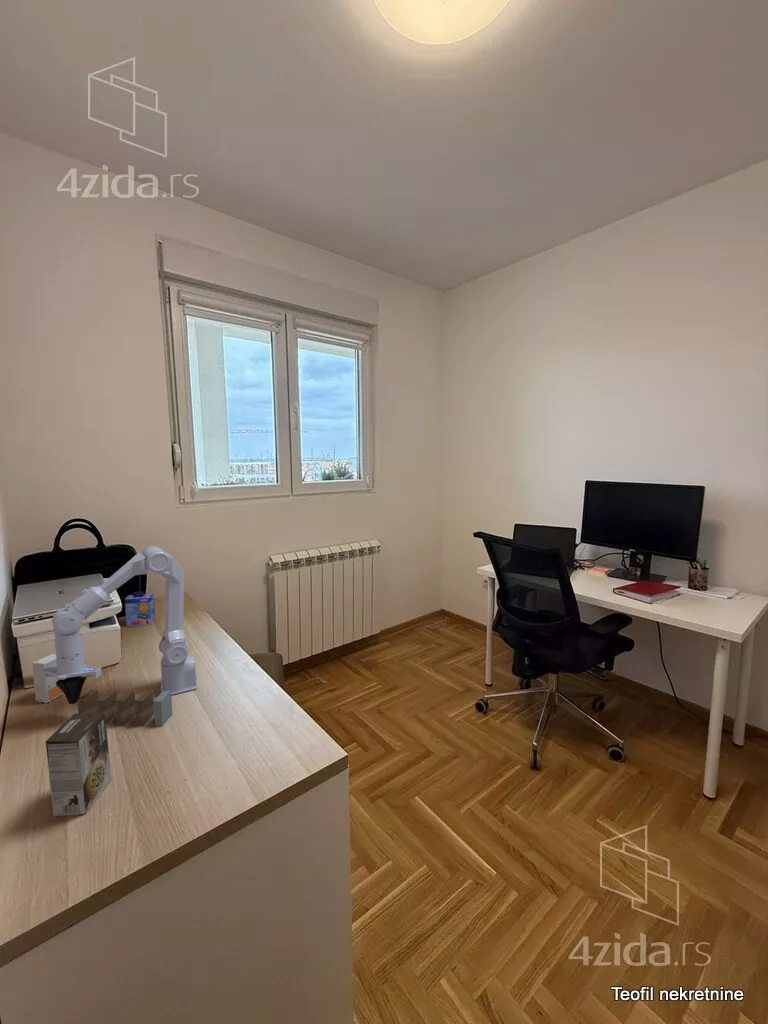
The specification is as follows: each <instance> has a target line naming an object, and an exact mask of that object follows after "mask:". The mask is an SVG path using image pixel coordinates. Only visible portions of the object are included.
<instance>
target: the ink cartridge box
mask: <svg viewBox="0 0 768 1024" xmlns="http://www.w3.org/2000/svg"><path fill="white" fill-rule="evenodd" d="M155 608H156V607H155V596H154V593H144V592H143V591H134V592H132V594H130V595H129V594H128V595H127V596H126V597H125V598H124V609H125V611H124V612H125V623H126V625H125V626H126V627H139V626H142V627H143V626H152V625H153V624H154V623H155V621H156V613H155Z"/></svg>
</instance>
